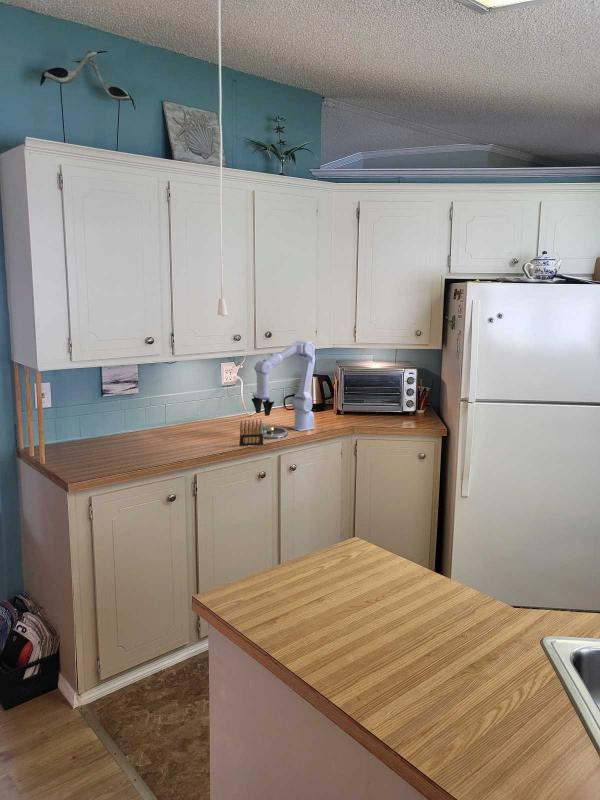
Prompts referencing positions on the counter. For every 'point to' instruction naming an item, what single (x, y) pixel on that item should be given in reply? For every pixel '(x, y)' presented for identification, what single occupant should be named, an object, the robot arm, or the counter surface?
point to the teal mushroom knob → (264, 429)
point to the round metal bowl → (275, 433)
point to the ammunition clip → (253, 438)
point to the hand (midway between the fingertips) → (262, 414)
